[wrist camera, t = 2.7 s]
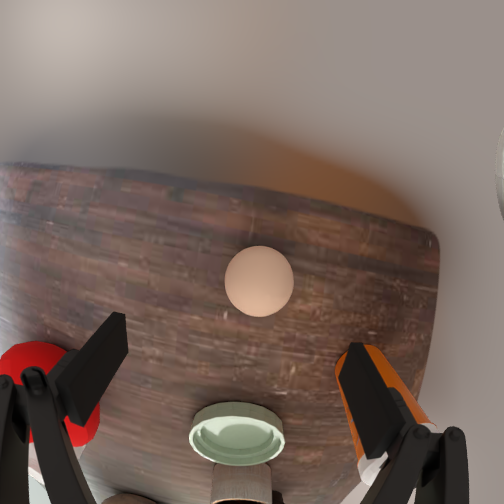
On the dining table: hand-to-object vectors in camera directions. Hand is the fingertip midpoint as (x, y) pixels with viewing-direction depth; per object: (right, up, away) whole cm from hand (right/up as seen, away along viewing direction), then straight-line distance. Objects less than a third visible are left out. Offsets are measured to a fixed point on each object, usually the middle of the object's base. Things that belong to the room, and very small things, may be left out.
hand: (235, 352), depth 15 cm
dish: (-1, -22, +23) cm, 32 cm away
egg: (+2, +4, +16) cm, 17 cm away
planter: (-1, -36, +27) cm, 45 cm away
